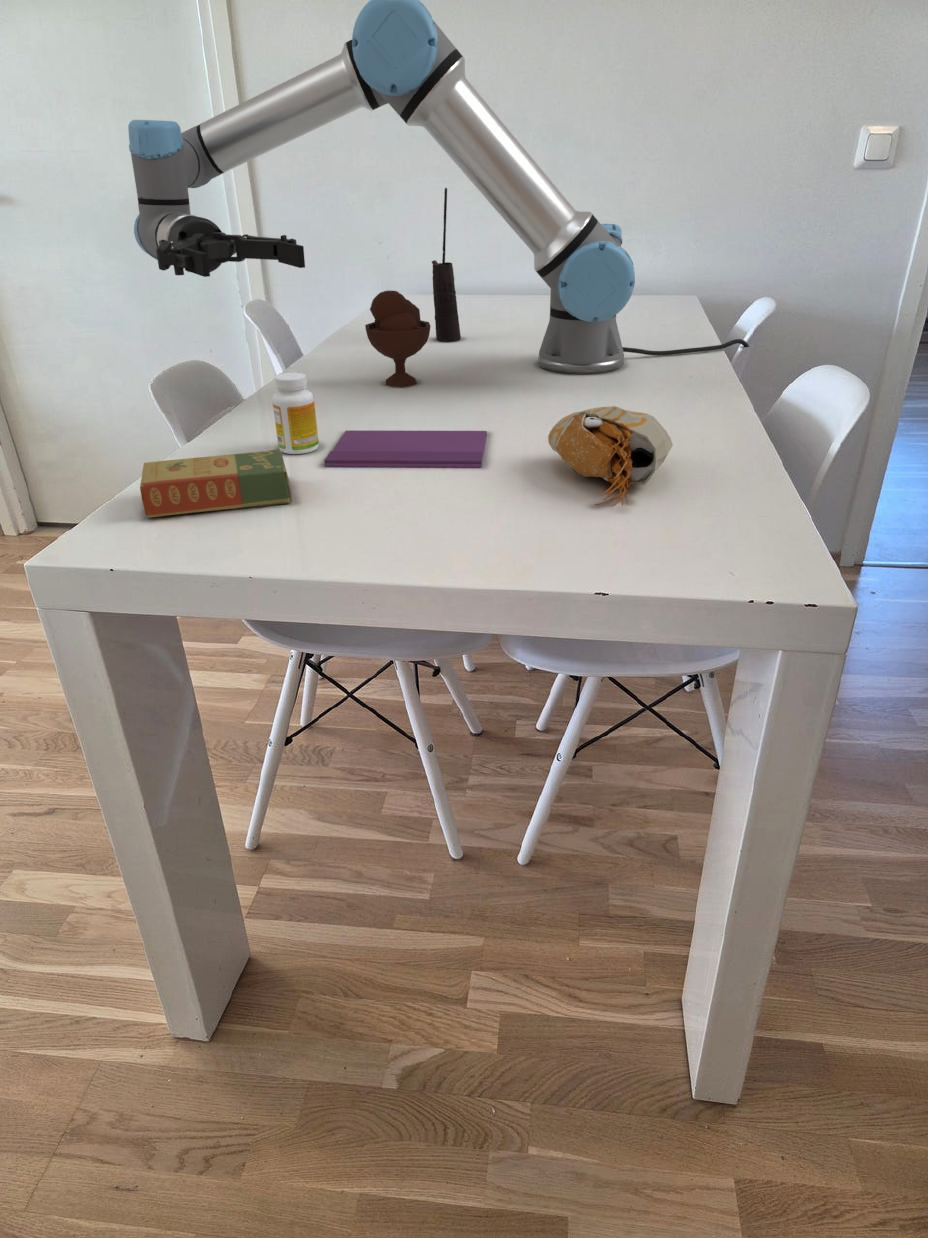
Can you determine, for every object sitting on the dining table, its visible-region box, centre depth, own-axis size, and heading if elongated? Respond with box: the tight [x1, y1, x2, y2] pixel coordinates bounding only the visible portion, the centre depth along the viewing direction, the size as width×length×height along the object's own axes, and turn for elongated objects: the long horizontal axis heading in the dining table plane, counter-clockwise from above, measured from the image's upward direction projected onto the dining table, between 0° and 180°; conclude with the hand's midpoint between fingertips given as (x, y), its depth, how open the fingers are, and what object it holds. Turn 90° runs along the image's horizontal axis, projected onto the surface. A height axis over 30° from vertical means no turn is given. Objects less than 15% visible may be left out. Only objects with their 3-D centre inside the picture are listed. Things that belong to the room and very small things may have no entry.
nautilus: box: [547, 405, 674, 507], centre depth 98 cm, size 8×22×15 cm
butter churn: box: [431, 187, 462, 343], centre depth 167 cm, size 9×10×28 cm
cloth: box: [324, 430, 488, 468], centre depth 112 cm, size 20×14×1 cm
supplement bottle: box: [271, 372, 320, 455], centre depth 111 cm, size 5×5×10 cm
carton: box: [139, 449, 293, 519], centre depth 97 cm, size 8×16×4 cm, turn 106°
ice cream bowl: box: [365, 290, 432, 388], centre depth 139 cm, size 11×11×15 cm
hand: (255, 260), depth 110 cm, fingers open, 13 cm apart
